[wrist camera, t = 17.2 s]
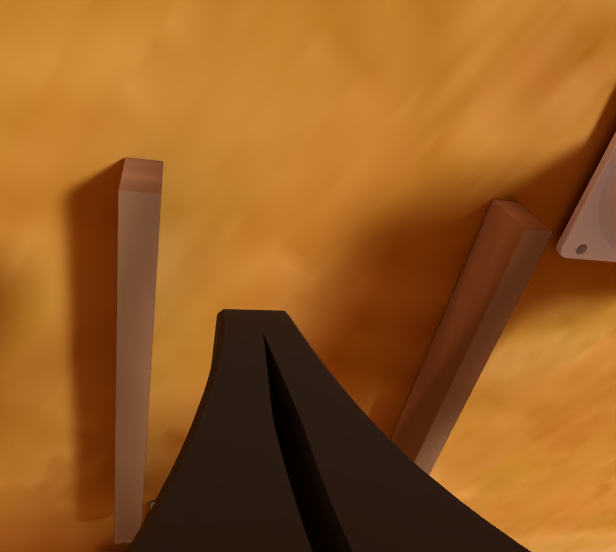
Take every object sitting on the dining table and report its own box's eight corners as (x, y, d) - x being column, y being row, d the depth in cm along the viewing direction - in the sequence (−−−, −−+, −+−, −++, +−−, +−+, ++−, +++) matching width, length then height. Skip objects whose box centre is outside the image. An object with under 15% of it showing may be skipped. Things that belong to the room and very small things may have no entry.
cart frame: (518, 201, 22) (552, 232, 20) (390, 482, 31) (404, 522, 29) (125, 157, 18) (118, 190, 16) (118, 496, 27) (114, 543, 25)
